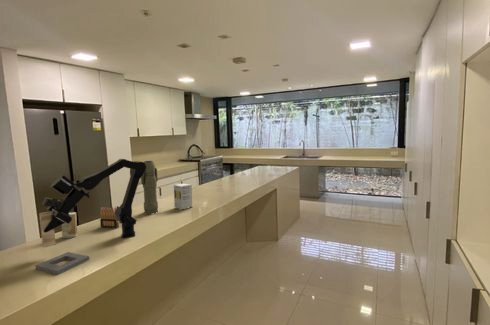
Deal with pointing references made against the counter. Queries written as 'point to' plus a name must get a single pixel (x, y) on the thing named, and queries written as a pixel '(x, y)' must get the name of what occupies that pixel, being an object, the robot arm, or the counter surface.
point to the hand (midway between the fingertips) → (43, 230)
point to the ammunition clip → (108, 218)
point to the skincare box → (70, 227)
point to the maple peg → (49, 236)
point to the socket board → (55, 269)
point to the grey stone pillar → (150, 188)
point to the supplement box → (183, 196)
